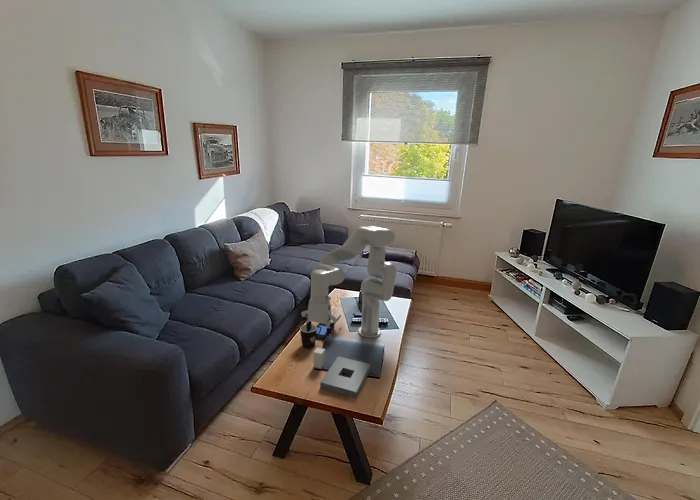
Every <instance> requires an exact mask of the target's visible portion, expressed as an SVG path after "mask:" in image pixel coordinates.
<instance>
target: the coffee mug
mask: <svg viewBox="0 0 700 500" xmlns="http://www.w3.org/2000/svg"><path fill="white" fill-rule="evenodd" d="M316 326H317V325H315V324H312V323H311V330H310V331H309V332H307V329H306V323H305V324H301V326H300V328H299V331H300V339H301V345H302V346H301V347H302V348H303V349H306V350H311V349H314V348H315V347H316V341H317V339H316V337H317V336H318V334H319V333H320V332H321V327H320V326H318V327H316ZM317 328H320V331H319V333H318V334H317V335H316V333H317Z"/></svg>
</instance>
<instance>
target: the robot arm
mask: <svg viewBox="0 0 700 500" xmlns="http://www.w3.org/2000/svg"><path fill="white" fill-rule="evenodd" d="M395 238H396V235H395V233H394V231H393V230H392V229H389V228H385V227H379V226H375V225H368V226H358V227H356V228H355V229H354V230H353V232H352V233H351V234H350V235H349V237H348V238H346V241H345V242H344V243H343V244H342V245H341V246H340V247H338V248H336V249H333V250H332V251H330V252H328V253H326V254H325V255H324V256H323V257H322V258H321V259H320V260H319V262H318V263H317V265H316V267H315V268H314V270H312V272H311V273H310V299H309V300H308V306H307V310H304V311H302V312H301V316H302V319H303V321H304V322H305V324H306V329H307V332H309V331H310V330H311V324H312V323H313V322H314V323H318V324H319V323H323V324H326V326H327V327H328V328H327V337H330V336H331V334H332V333H333V332H332V331H333V329H332V326H334V327H335V325H336V324H337V322H338V321H339V319H338V317H335V316H334V315H333V314H332V307H331V300H332V298H331V297H332V296H329V287H330V286H337V285H339V284H341V283H342V282H343V281H344V280H345V277H346V275H345V274H346V273H345V272H344V270H343V269H341V268H339V267H336V266H334V265H335V264H337V263H339V262H345V261H350V260H354V259H356V258H357V257H358V255H359V254H360V252H361V251H362V250H363V249H364V247H366V246H368V247H369V253H368V260H367V265H366V266H367V267H366V273H367V274H368V275H369V276H371V277H367V278H365V279H363V281H362V282H361V285H360V292H361V298H362V299H361V300H362V301H361V304H362V305H361V321H360V322H361V325H360V327H358V329H357V331H358V335H360V336H362V337H363V338H368V339H374V338H378V337H379V336H381V335H382V334H381V333H382V330H381V328H380V327H379V324H380V323H379V322H380V307H381V305H380V304H381V303H380V301H382V302H388V301H390V300H391V299H392V296H393V294H394V288H395V283H396V277H397V268H396V265H395V264H394V263H392V262H389V261H386V259H385V258H386V253H387V252H386V251H387V250H386V247H390V246H391V245H393V243H394V242H395ZM372 277H373V278H372ZM375 278H376V279H375ZM381 280H382V281H381ZM337 320H338V321H337ZM335 323H336V324H335Z"/></svg>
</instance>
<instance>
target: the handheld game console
mask: <svg viewBox="0 0 700 500" xmlns="http://www.w3.org/2000/svg"><path fill="white" fill-rule="evenodd" d="M341 317H342V314H339V316H338V317H337V319H338V320H337V322H338V321H339V319H340V318H341ZM337 322H336V323H335V325H336V324H337ZM335 325H334V326H332V330H334V328H335ZM315 326H316V327H318V326H320V327H321V332H320V333H319V331H320V328H317V333H316V335H317V334H318V333H319V334H318V336H317V337H316V340H319V341H325V340H326V339H327V337H328V336H327V328H328V327H327V326H326V324H323V323H318V324H317V325H315Z"/></svg>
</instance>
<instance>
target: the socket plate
mask: <svg viewBox="0 0 700 500" xmlns="http://www.w3.org/2000/svg"><path fill="white" fill-rule="evenodd" d="M370 371H371V363H366V362H363V361H359V360H355V359H350V358H346V357H343V356H337V357H336V359H334V362H333V363H332V365H331V366H330V367H329V369H328V370H327V372H326V373H325V375H324V376H323V378H322V379H321V381H320V382H319V386H320V388H319V389H320V390H321V389H323V390H326V391H327V392H328V391H330V392H331V393H336V394H339V395H342V396H347V397H351V398H354V399H357V397H358V395H359V392H360V391H361V389H362V387H363V385H364V384H365V381H366V380H367V377H368V375H369V373H370ZM343 375H346V376H343ZM347 375H348V377H347ZM349 376H350V377H349Z"/></svg>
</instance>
